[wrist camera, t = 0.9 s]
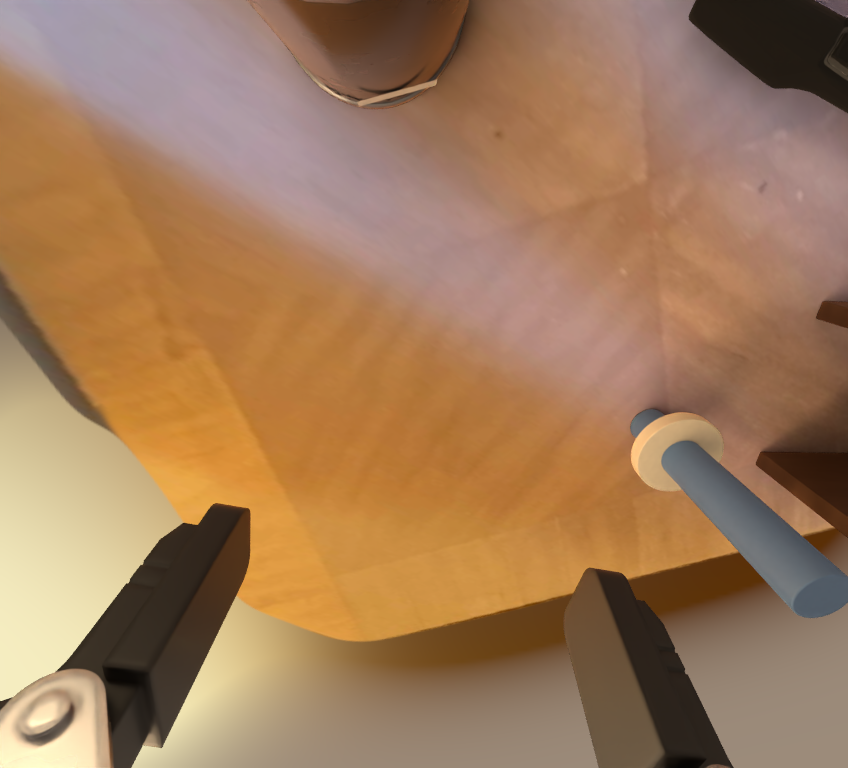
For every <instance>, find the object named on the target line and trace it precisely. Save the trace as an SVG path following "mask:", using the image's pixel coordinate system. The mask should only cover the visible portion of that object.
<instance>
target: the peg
mask: <svg viewBox="0 0 848 768" xmlns="http://www.w3.org/2000/svg"><path fill="white" fill-rule="evenodd" d="M630 429H631V433H632V435H633V436H634V437H635V438H636V440H635V442H634V444H633V447H632V451H631V462H632V466H633V468H634V470H635V471H636V473H637V474H638V475H639V476H640V478H641V479H642V480H643V481H644V482H645V483H646V484H647V485H649V486H650V487H652V488H654V489H657V490H661V491H678V490H683V491H684V492H685V493H686V494H687V495H688V496H689V497H690V498H691V500H692V501H693V502H694V503H695V504H696V505H697V506H698V507H699V508H700V509H701V511H702V512H703V513H704V514H705V515H706V516H707V517H708V518H709V519H710V520H711V522H712V523H713V524H714V525H715V526H716V527H717V528H718V529H719V530H720V531H721V532H722V534H723V535H724V536H725V537H726V538H727V539H728V540H729V541H730V542H731V543H732V545H733V546H734V547H735V548H736V549H737V550H738V551H739V552H740V553H741V554H742V555H743V557H744V558H745V559H746V560H747V561H748V562H749V563H750V564H751V565H752V567H753V568H754V569H755V570H756V571H757V572H758V573H759V574H760V575H761V576H762V577H763V578H764V580H765V581H766V582H767V583H768V584H769V585H770V586H771V587H772V588H773V590H774V591H775V592H776V593H777V594H778V595H779V596H780V597H781V598H782V599H783V601H784V602H785V603H786V604H787V605H788V606H789V607H790V608H791V609H792V610H793V611H794V612H795V613H796V614H797V615H799V616H802V617H806V618H816V617H822V616H826V615H828V614H831V613H833V612H835V611H837V610H839V609H840V608H842V607H843V606H844V605H845V604H846V603H848V577H847V576H846V575H845V574H844V573H843V572H842V571H841V570H840V569H839V568H837V567H836V566H835V565H834V564H833V563H832V562H831V561H829V560H828V559H827V558H826V557H825V556H824V555H823V554H822V553H820V552H819V551H818V550H817V549H816V548H815V547H814V546H812V545H811V544H810V543H809V542H808V541H807V540H806V539H805V538H803V537H802V536H801V535H800V534H799V533H798V532H797V531H795V530H794V529H793V528H792V527H791V526H790V525H789V524H788V523H786V522H785V521H784V520H783V519H782V518H781V517H780V516H778V515H777V514H776V513H775V512H774V511H773V510H772V509H771V508H769V507H768V506H767V505H766V504H765V503H764V502H763V501H761V500H760V499H759V498H758V497H757V496H756V495H755V494H754V493H752V492H751V491H750V490H749V489H748V488H747V487H746V486H744V485H743V484H742V483H741V482H740V481H739V480H738V479H737V478H735V477H734V476H733V475H732V474H731V473H730V472H729V471H727V470H726V469H725V468H724V467H723V466H722V465H721V464H720V463H719V462H720V460H721V458H722V455H723V450H724V442H723V438H722V435H721V433H720V432H719V430H718V429H717V428H716V427H715V426H714V425H712V424H711V423H710V422H708V421H707V420H706V419H705V418H703V417H701V416H699V415H697V414H693V413H687V412H679V413H672V414H669V415H664V414H663V413H662V412H660V411H658V410H654V409H649V410H645V411H642V412H641V413H639V414H638V415H637V416H635V418H634V419H633V420H632V423H631V428H630Z"/></svg>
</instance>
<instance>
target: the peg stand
mask: <svg viewBox="0 0 848 768" xmlns="http://www.w3.org/2000/svg"><path fill="white" fill-rule="evenodd" d="M816 318H817V319H820V320H823V321H826V322H829V323H832V324H835V325H839V326H842V327H845V328H848V302H836V301H824V302H822V305H821V307H820V310H819V312H818V315H817V317H816ZM756 465H757V466H758V467H759V468H760V469H762V470H763V471H764V472H765V473H767V474H768V475H769V476H771V477H772V478H773V479H774V480H776V481H777V482H778V483H779V484H781V485H782V486H783V487H784V488H786V489H787V490H788V491H789V492H791V493H792V494H793V495H794V496H796V497H797V498H798V499H799V500H801V501H802V502H803V503H805V504H806V505H807V506H808V507H810V508H811V509H812V510H813V511H815V512H816V513H817V514H818V515H820V516H821V517H822V518H823V519H825V520H826V521H827V522H828V523H830V524H831V525H832V526H834V527H835V528H836V529H837V530H839V531H840V532H841V533H842V534H844V535H845V536H846V537H847V538H848V453H806V452H761V453H760V455H759V458H758V460H757V462H756Z"/></svg>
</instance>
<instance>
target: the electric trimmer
mask: <svg viewBox="0 0 848 768" xmlns="http://www.w3.org/2000/svg"><path fill="white" fill-rule="evenodd" d="M689 20H690V21H691V22H692V23H693V24H694V25H695V26H696V27H697V28H698V29H700V30H701V31H702V32H703V33H704V34H705V35H706V36H707V37H709V38H710V39H711V40H712V41H713V42H715V43H716V44H717V45H718V46H719V47H721V48H722V49H723V50H724V51H726V52H727V53H728V54H729V55H730V56H732V57H733V58H734V59H735V60H737V61H738V62H739V63H740V64H741V65H743V66H744V67H745V68H746V69H748V70H749V71H750V72H751V73H753V74H754V75H755V76H757V77H758V78H759V79H760V80H762V81H763V82H764V83H766V84H767V85H769V86H770V87H773V88H794V89H800V90H804V91H808V92H811V93H813V94H815V95H817V96H819V97H821V98H822V99H824V100H826V101H828V102H829V103H831V104H833V105H834V106H836V107H838V108H840V109H841V110H843V111H845V112H847V113H848V18H846V17H844V16H841V15H839V14H837V13H836V12H834V11H832V10H831V9H829V8H827V7H826V6H824V5H822V4H820V3H818V2H816V1H814V0H696V1H695V3H694V5H693V7H692V10H691V12H690V15H689Z"/></svg>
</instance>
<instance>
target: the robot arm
mask: <svg viewBox="0 0 848 768" xmlns="http://www.w3.org/2000/svg"><path fill="white" fill-rule="evenodd" d="M247 1H248V2H249V3H250V5H251V6H252V7H253V8H254V9H255V10H256V12H257V13H258V14H259V15H260V16H261V18H262V19H263V20H264V21H265V22H266V23H267V25H268V26H269V27H270V28H271V29H272V30H273V32H274V33H275V34H276V35H277V36H278V37H279V39H280V40H281V41H282V42H283V43H284V44H285V46H286V47H287V48H288V49H289V50H290V52H291V53H292V55H293V56H294V58H295V59H296V61H297V62H298V64H299V65H300V66H301V67H302V69H303V70H304V71H305V72H306V73H307V75H308V76H309V77H310V78H311V79H312V80H313V81H314V82H315V83H316V84H317V85H318V86H319V87H321V88H322V89H323V90H324V91H326V92H327V93H328V94H330V95H331V96H333V97H335V98H337V99H338V100H340V101H343V102H345V103H347V104H350V105H353V106H356V107H361V108H367V109H384V108H391V107H395V106H399V105H401V104H404V103H407V102H408V101H410V100H412V99H414V98H416V97H417V96H419V95H420V94H422V93H423V92H424V91H426V90H427V89H428V88H429V87H432V86H435V85H436V83H437V79H438V77H439V76H440V75H441V74H442V72H443V71H444V69H445V68H446V66H447V65H448V63H449V61H450V59H451V57H452V55H453V53H454V51H455V49H456V46H457V43H458V41H459V38H460V35H461V32H462V28H463V24H464V20H465V14H466V10H467V7H468V4H469V1H470V0H247ZM249 559H250V510H249V509H248V508H242V507H236V506H230V505H224V504H218V503H215V504H213V505H212V506H211V507H210V509H209V510H208V511H207V513H206V514H205V516H204V517H203V519H202V520H201V522H200V523H199V524H198V525H193V524H187V523H183V524H181V525H180V526H178V527H177V528H176V529H174V530H173V531H171V532H170V533H169V534H167V535H166V536H164V537H163V538H161V539H160V540H159V542H158V543H157V544H156V546H155V547H154V548H153V550H152V551H151V553H149V555H148V556H147V557H146V559H145V560H144V563H143V565H140V567H139V568H138V569H137V571H136V572H135V573H134V574H133V576H132V577H131V579H130V582H129V583H128V584H126V585H125V586H124V587H123V589H122V590H121V591H120V593H119V594H118V595H117V597H116V598H115V599H114V600H113V602H112V603H111V604H110V606H109V607H108V608H107V610H106V611H105V612H104V614H103V615H102V616H101V617H100V619H99V620H98V621H97V623H96V624H95V625H94V627H93V628H92V629H91V631H90V632H89V633H88V634H87V636H86V637H85V639H84V640H83V641H82V642H81V644H80V645H79V646H78V648H77V649H76V650H75V651H74V653H73V654H72V655H71V656H70V658H69V659H68V660H67V661H66V662H65V663H64V664H63V665H62V666H61V667H60V668H59V669H58V670H57V671H56V672H55V673H52V674H49V675H47V676H45V677H42V678H40V679H38V680H37V681H35V682H33V683H31V684H30V685H28V686H27V687H25V688H24V689H23V690H21V691H20V692H19V693H17V694H16V695H15V696H14V697H12V698H9V699H6V700H3V701H0V768H131V767H132V765H133V763H134V761H135V759H136V757H137V755H138V753H139V752H140V750H141V748H142V745H144V746H152V747H159V748H162V747H163V744H164V742H165V740H166V738H167V736H168V734H169V732H170V730H171V728H172V726H173V724H174V722H175V720H176V718H177V716H178V714H179V712H180V710H181V707H182V706H183V703H184V701H185V699H186V697H187V695H188V693H189V691H190V689H191V687H192V685H193V683H194V681H195V679H196V677H197V675H198V672H199V671H200V668H201V666H202V664H203V662H204V660H205V658H206V656H207V654H208V652H209V650H210V648H211V646H212V644H213V642H214V640H215V638H216V636H217V634H218V632H219V630H220V627H221V625H222V623H223V621H224V619H225V617H226V615H227V613H228V611H229V609H230V607H231V605H232V603H233V601H234V599H235V597H236V595H237V593H238V591H239V588H240V586H241V584H242V582H243V580H244V577H245V574H246V571H247V568H248V564H249ZM564 634H565V639H566V642H567V646H568V650H569V654H570V658H571V662H572V666H573V669H574V673H575V677H576V681H577V685H578V689H579V693H580V696H581V700H582V704H583V708H584V712H585V716H586V720H587V723H588V727H589V731H590V735H591V739H592V743H593V746H594V751H595V754H596V758H597V762H598V766H599V768H733V766H732V764H731V763H730V761H729V759H728V757H727V755H726V753H725V751H724V749H723V747H722V745H721V743H720V741H719V738H718V736H717V734H716V732H715V730H714V728H713V726H712V724H711V722H710V720H709V718H708V716H707V714H706V711H705V709H704V707H703V705H702V703H701V701H700V699H699V697H698V695H697V693H696V691H695V689H694V687H693V685H692V682H691V680H690V678H689V676H688V675H687V674H685V668H684V666H683V664H682V662H681V660H680V658H679V656H678V654H677V653H675V647H674V645H673V643H672V641H671V639H670V637H669V635H668V633H667V631H666V629H665V627H664V624H663V623H662V622H661V621H660V619H659V618H658V617H657V616H656V614H655V613H654V612H653V611H652V610H651V609H650V607H649V606H648V605H647V604H646V602H645V601H641V600H636V598H635V596H634V594H633V591H632V589H631V587H630V585H629V583H628V580H627V578H626V577H625V576H624V575H623V574H622V573H619V572H613V571H607V570H601V569H595V568H588V569H586V570H585V572H584V574H583V576H582V578H581V580H580V582H579V583H578V585H577V587H576V589H575V591H574V593H573V595H572V597H571V599H570V601H569V603H568V605H567V607H566V610H565V614H564Z"/></svg>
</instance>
